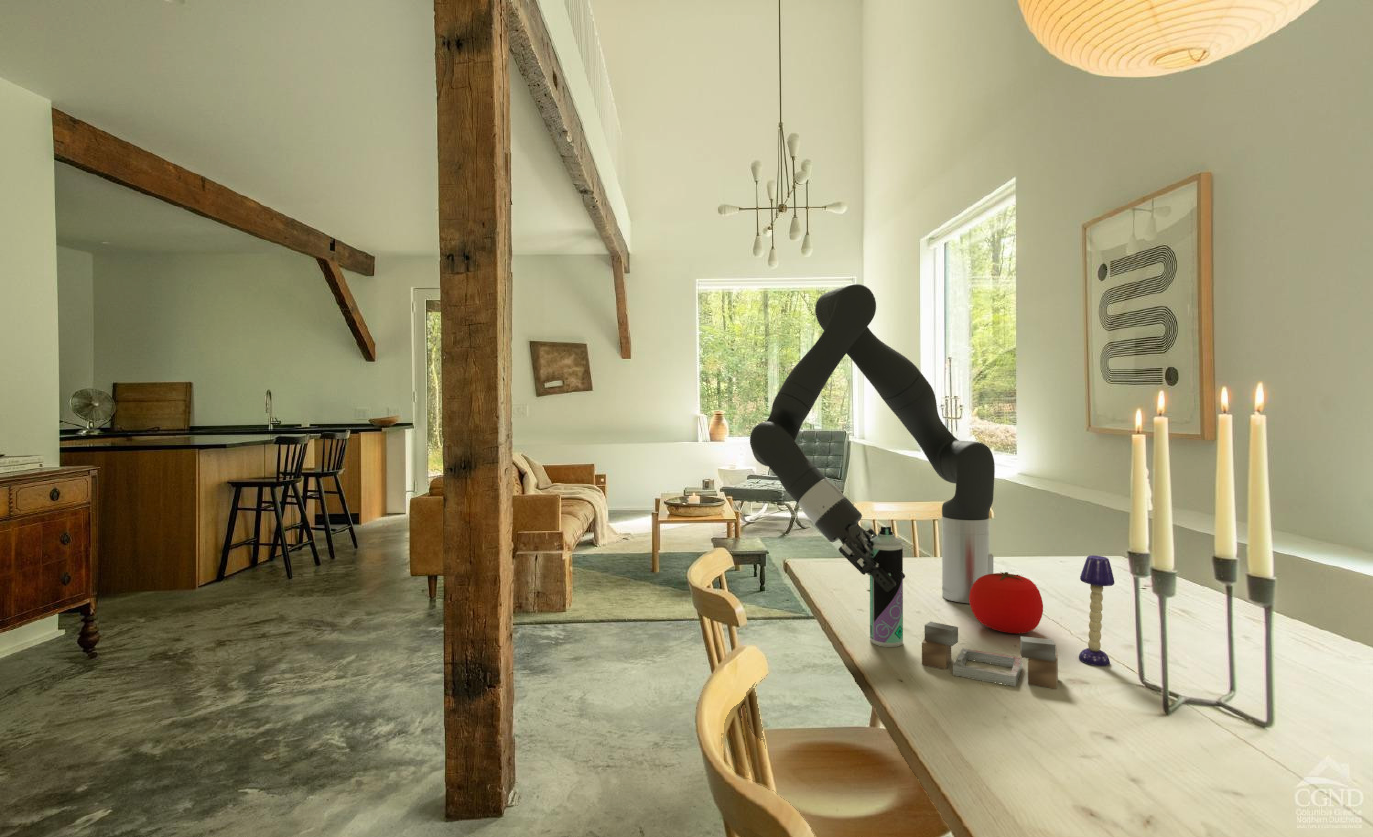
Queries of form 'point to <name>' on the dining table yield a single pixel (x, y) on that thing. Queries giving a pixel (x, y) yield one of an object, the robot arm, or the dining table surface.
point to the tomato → (1006, 602)
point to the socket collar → (988, 674)
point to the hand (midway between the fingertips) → (896, 584)
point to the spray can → (887, 604)
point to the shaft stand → (1034, 649)
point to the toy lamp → (1096, 606)
